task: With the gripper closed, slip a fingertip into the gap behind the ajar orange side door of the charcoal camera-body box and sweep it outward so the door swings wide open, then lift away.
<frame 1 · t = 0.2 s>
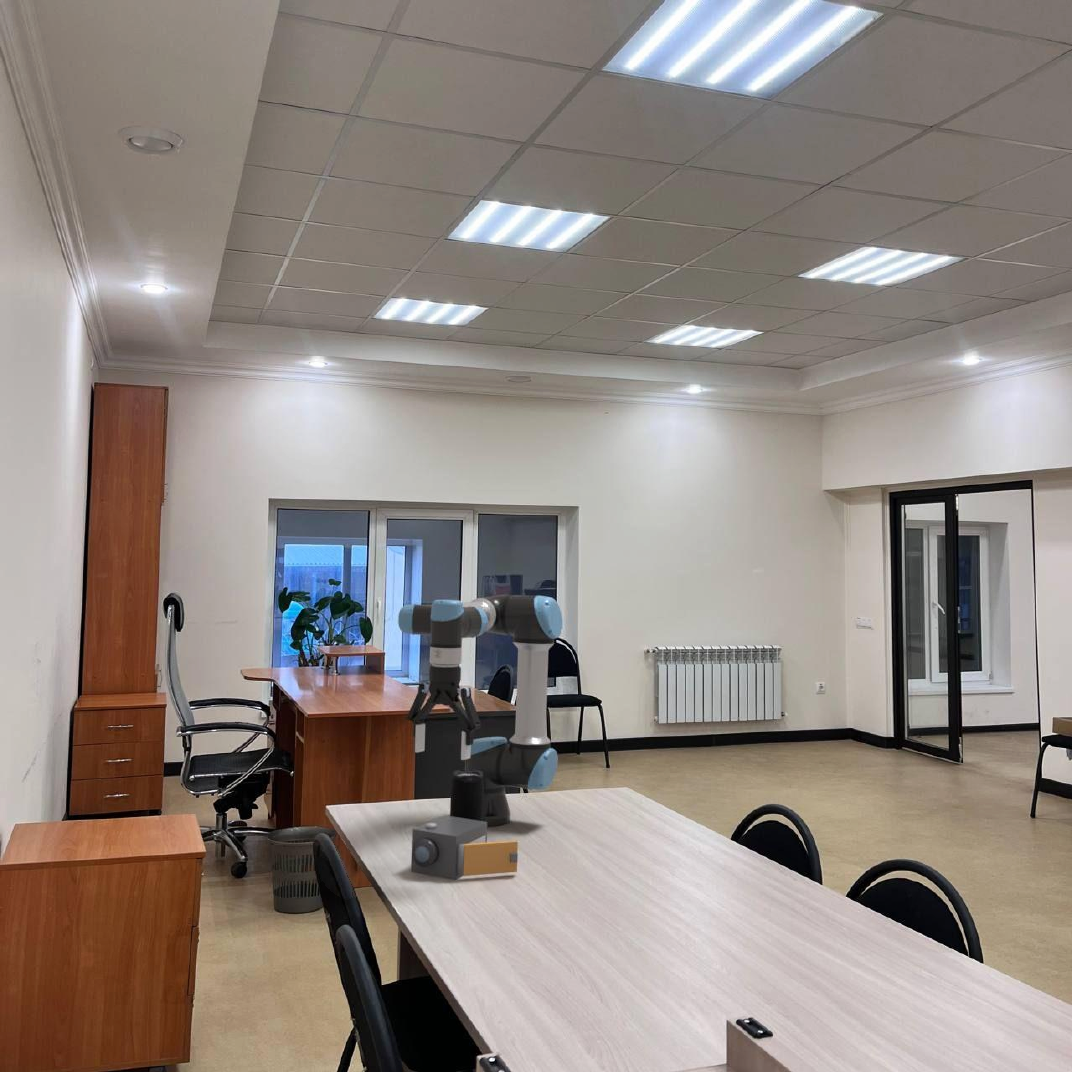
hand: (442, 755, 229), 28 cm above the table, fingers open, 13 cm apart
side door: (488, 858, 226), point 4 cm above the table, hinge at 45.0°
portable speaker: (465, 850, 248), on the table
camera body: (449, 867, 233), on the table
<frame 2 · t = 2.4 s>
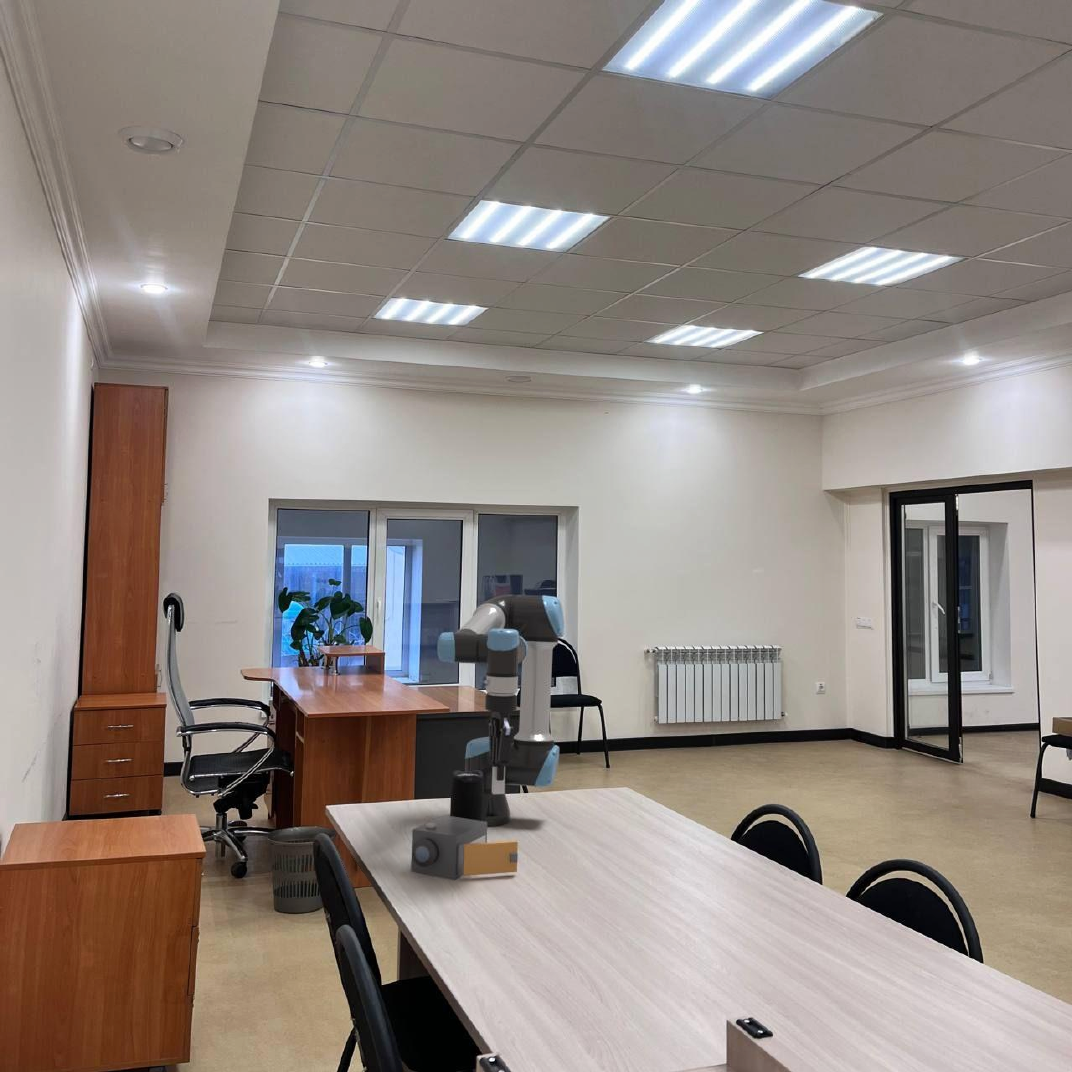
hand: (498, 793, 231), 19 cm above the table, fingers closed
nothing on the table moved.
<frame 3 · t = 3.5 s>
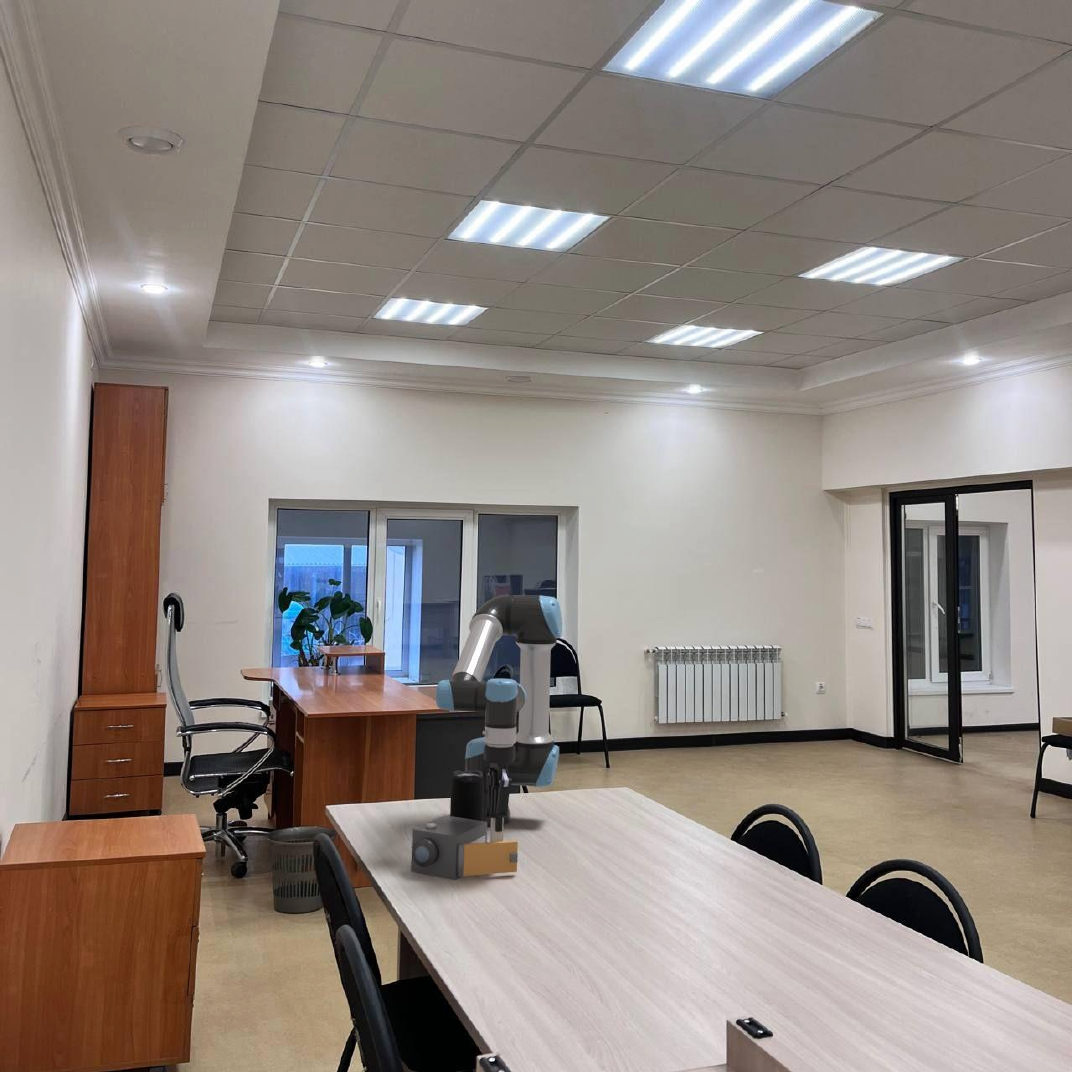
hand: (496, 844, 230), 7 cm above the table, fingers closed
nothing on the table moved.
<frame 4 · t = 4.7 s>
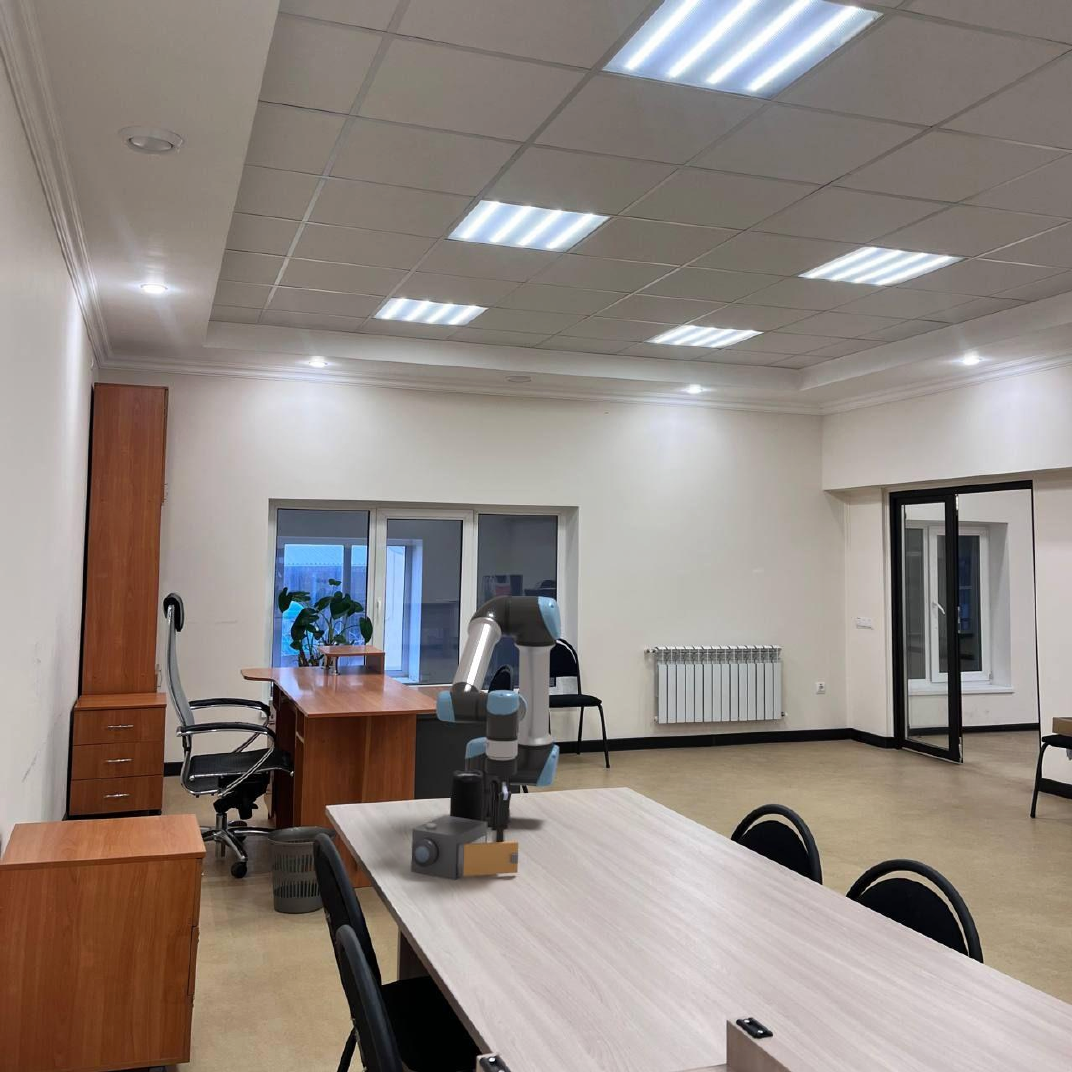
hand: (497, 856, 229), 4 cm above the table, fingers closed
side door: (488, 858, 226), point 4 cm above the table, hinge at 47.6°, touching gripper
everything else where it was.
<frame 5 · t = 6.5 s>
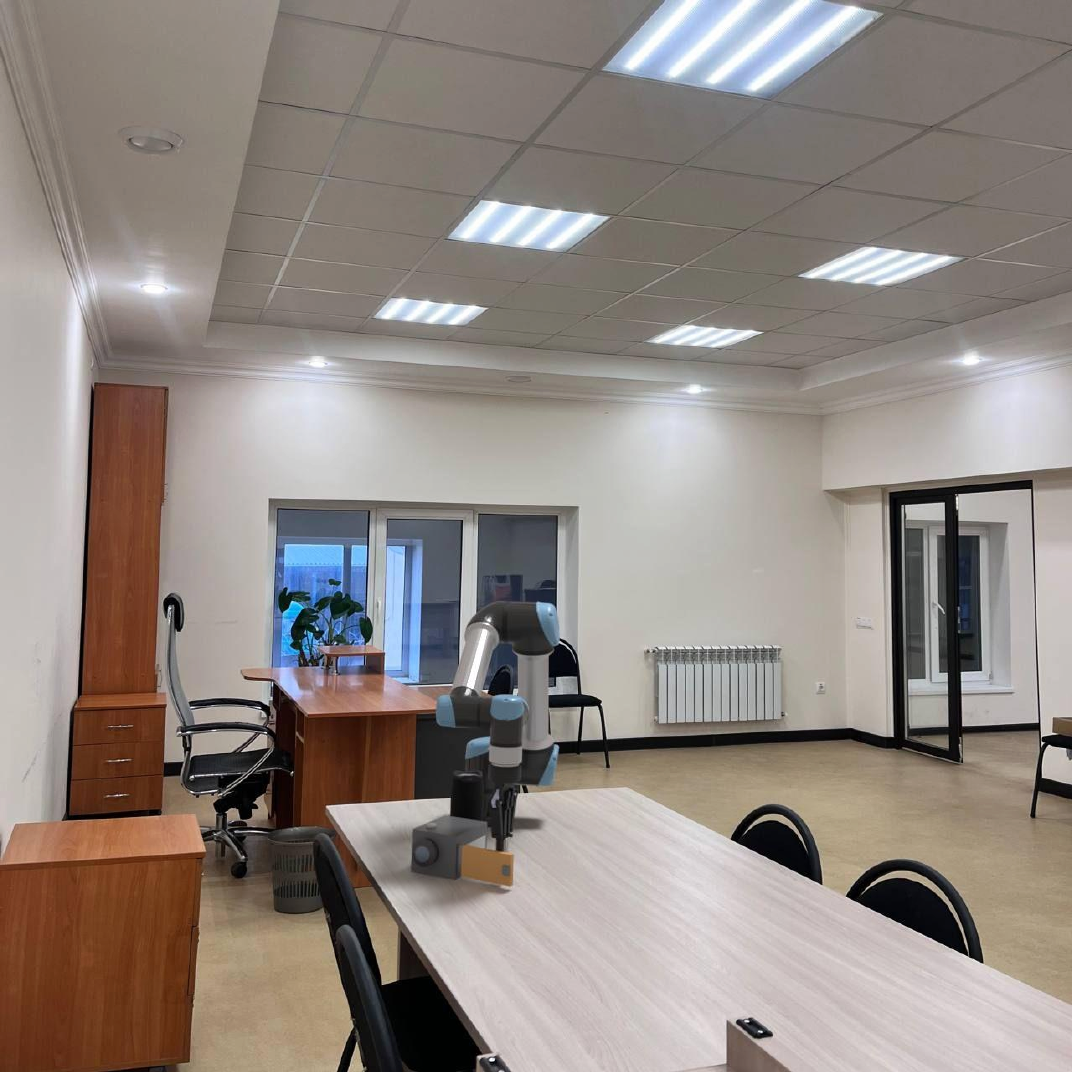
hand: (501, 866, 222), 4 cm above the table, fingers closed
side door: (484, 865, 221), point 5 cm above the table, hinge at 92.3°, touching gripper
everything else where it was.
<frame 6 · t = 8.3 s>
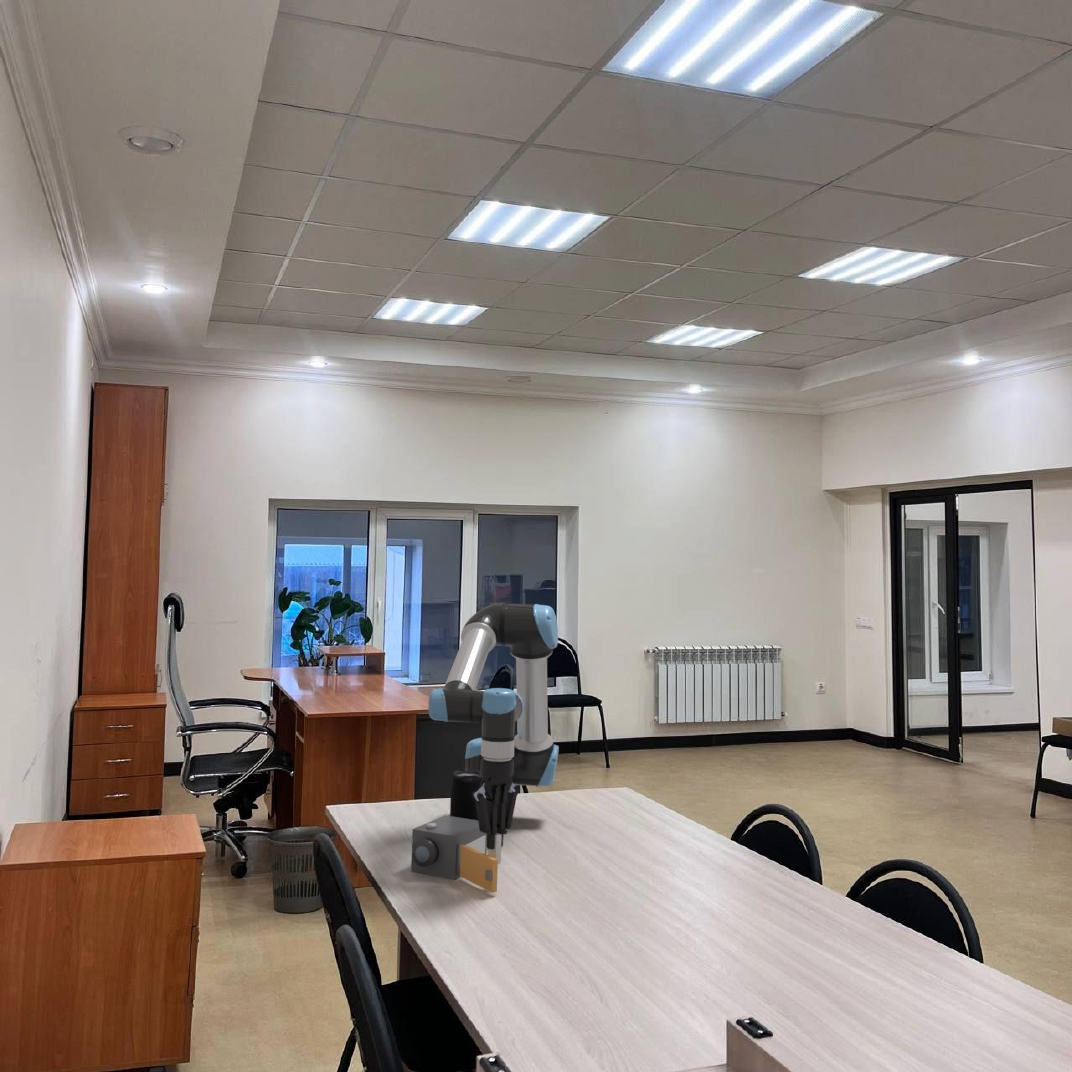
hand: (494, 862, 219), 6 cm above the table, fingers closed
side door: (475, 867, 219), point 4 cm above the table, hinge at 116.5°
everything else where it was.
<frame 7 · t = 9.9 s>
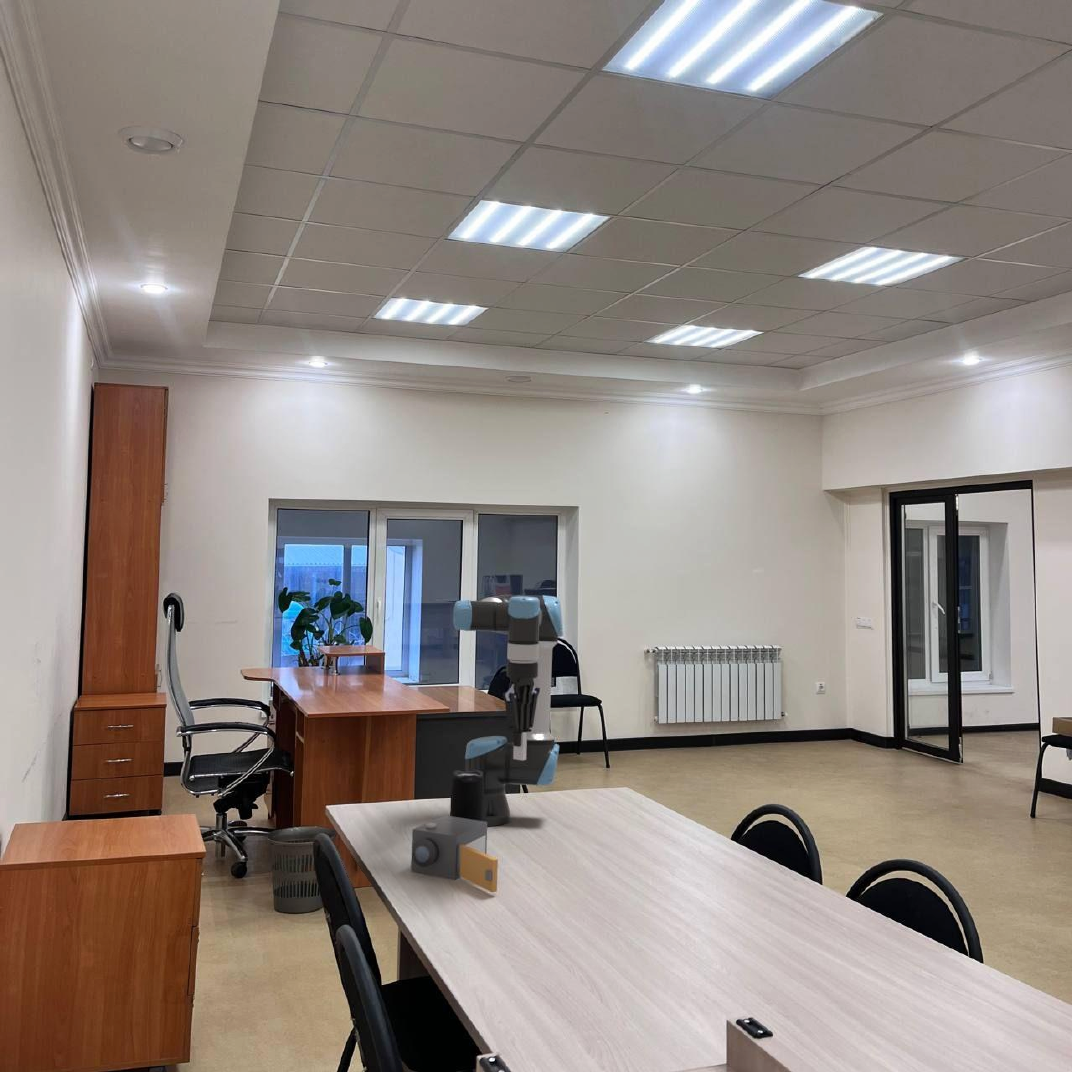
hand: (519, 759, 233), 27 cm above the table, fingers closed
nothing on the table moved.
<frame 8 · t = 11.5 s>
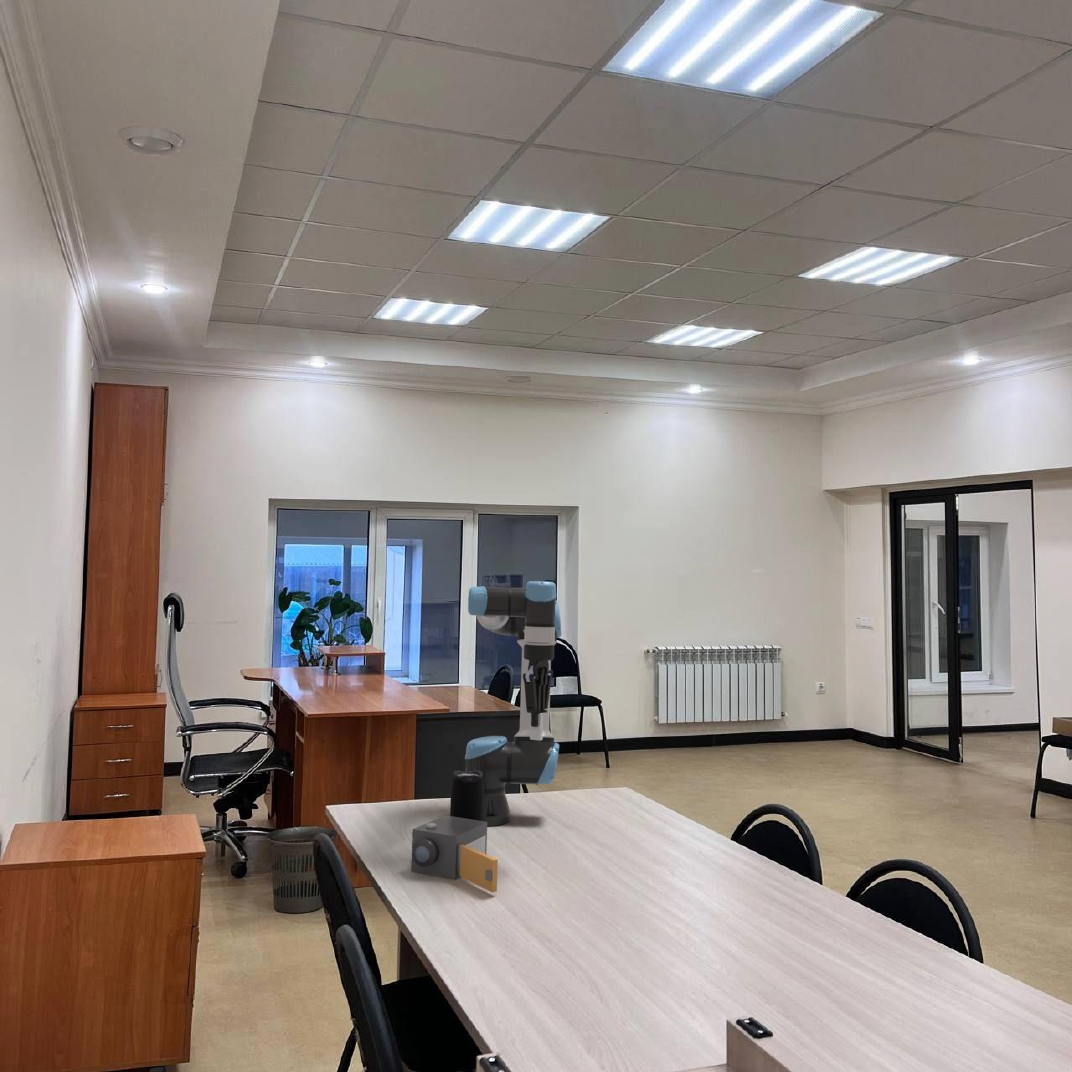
hand: (536, 739, 239), 30 cm above the table, fingers closed
nothing on the table moved.
at the end: side door at +116° (first picture: +45°) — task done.
